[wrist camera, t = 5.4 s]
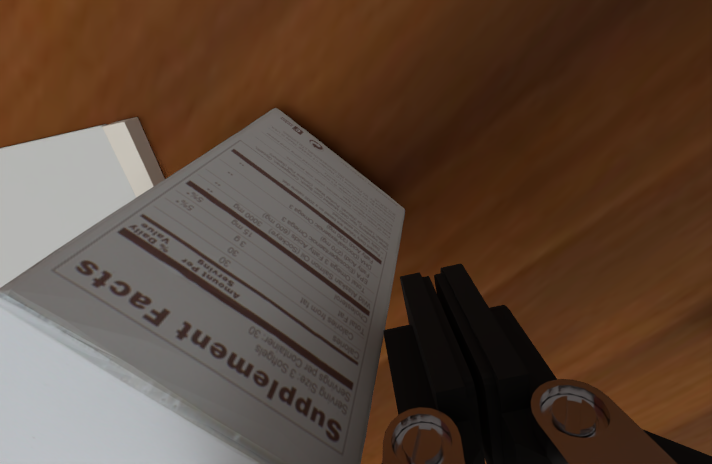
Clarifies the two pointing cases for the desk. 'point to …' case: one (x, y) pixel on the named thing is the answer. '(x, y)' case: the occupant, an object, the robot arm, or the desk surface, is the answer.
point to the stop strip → (134, 154)
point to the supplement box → (208, 316)
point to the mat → (55, 194)
